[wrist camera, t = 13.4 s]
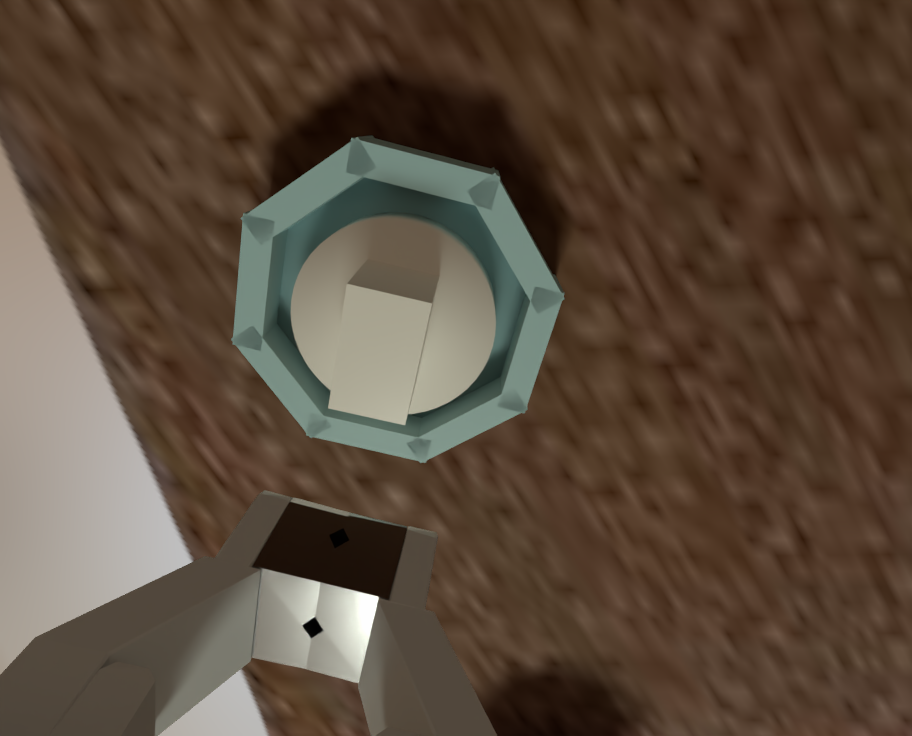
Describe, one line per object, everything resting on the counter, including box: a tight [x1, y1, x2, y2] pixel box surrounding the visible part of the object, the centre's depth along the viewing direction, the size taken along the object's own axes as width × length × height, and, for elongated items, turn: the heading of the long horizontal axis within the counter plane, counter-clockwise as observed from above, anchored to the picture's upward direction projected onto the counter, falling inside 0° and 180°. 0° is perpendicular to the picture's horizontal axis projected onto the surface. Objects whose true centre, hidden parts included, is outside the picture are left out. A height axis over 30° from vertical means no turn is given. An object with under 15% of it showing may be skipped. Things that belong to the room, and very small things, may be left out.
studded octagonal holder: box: [231, 135, 564, 463], centre depth 20 cm, size 11×11×2 cm
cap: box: [291, 212, 496, 425], centre depth 18 cm, size 7×7×4 cm
